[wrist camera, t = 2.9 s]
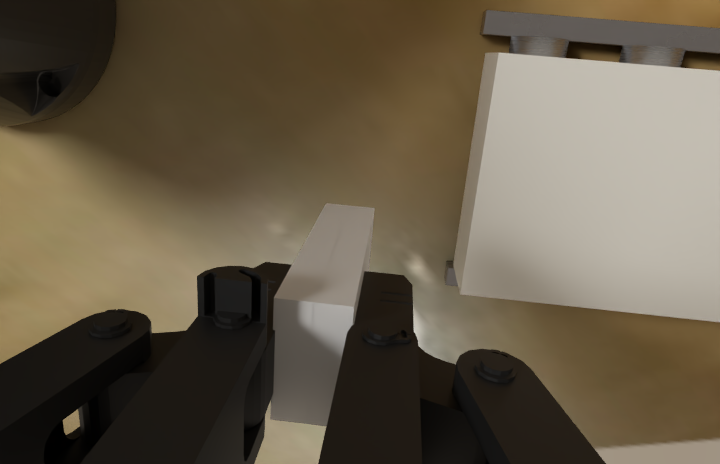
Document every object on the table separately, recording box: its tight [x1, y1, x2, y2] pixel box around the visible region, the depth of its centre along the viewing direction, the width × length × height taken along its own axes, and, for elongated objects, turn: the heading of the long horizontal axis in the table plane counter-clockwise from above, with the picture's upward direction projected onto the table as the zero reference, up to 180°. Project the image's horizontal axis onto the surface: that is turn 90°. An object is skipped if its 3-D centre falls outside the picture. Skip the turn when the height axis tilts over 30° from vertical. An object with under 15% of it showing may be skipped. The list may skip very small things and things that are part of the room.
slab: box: [453, 53, 720, 322], centre depth 26 cm, size 18×12×4 cm, turn 86°
